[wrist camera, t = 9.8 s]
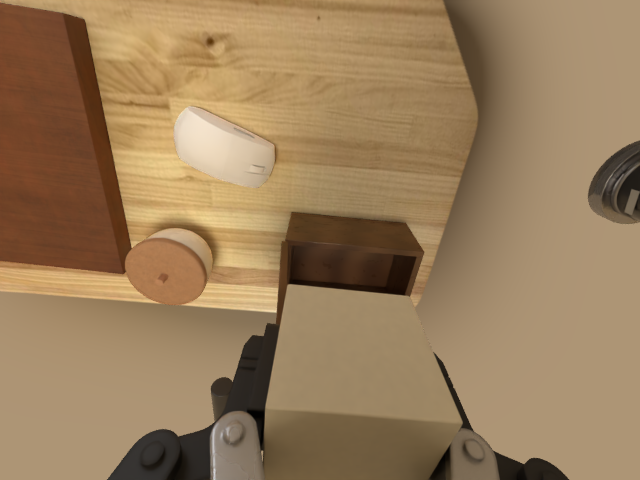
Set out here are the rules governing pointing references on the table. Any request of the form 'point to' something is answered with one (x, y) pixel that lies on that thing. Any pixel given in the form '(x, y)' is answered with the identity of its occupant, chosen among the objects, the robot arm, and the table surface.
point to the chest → (352, 254)
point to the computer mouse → (222, 148)
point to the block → (354, 390)
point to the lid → (223, 385)
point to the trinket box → (170, 266)
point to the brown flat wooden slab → (55, 148)
